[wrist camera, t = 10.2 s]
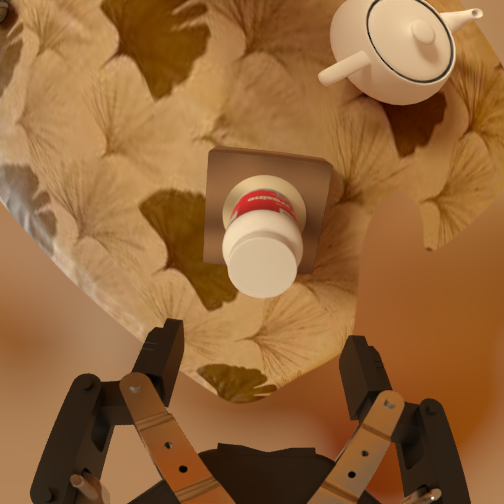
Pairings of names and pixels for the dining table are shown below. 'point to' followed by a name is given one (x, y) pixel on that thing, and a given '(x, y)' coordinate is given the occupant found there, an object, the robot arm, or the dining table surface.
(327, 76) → the teapot
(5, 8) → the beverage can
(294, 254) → the pill bottle
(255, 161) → the pedestal
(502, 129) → the dining table surface
